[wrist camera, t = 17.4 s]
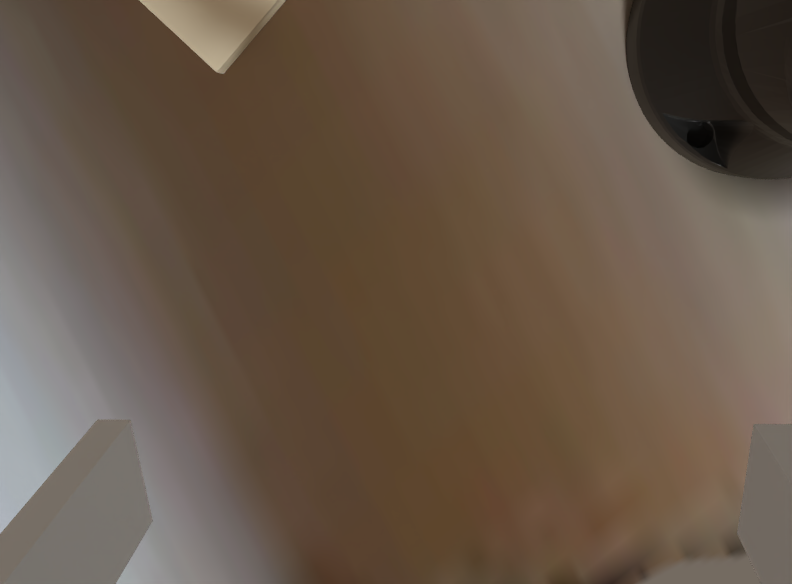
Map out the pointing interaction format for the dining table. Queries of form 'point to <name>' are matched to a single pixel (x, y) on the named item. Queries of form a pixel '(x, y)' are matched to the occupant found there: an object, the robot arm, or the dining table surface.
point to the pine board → (215, 25)
